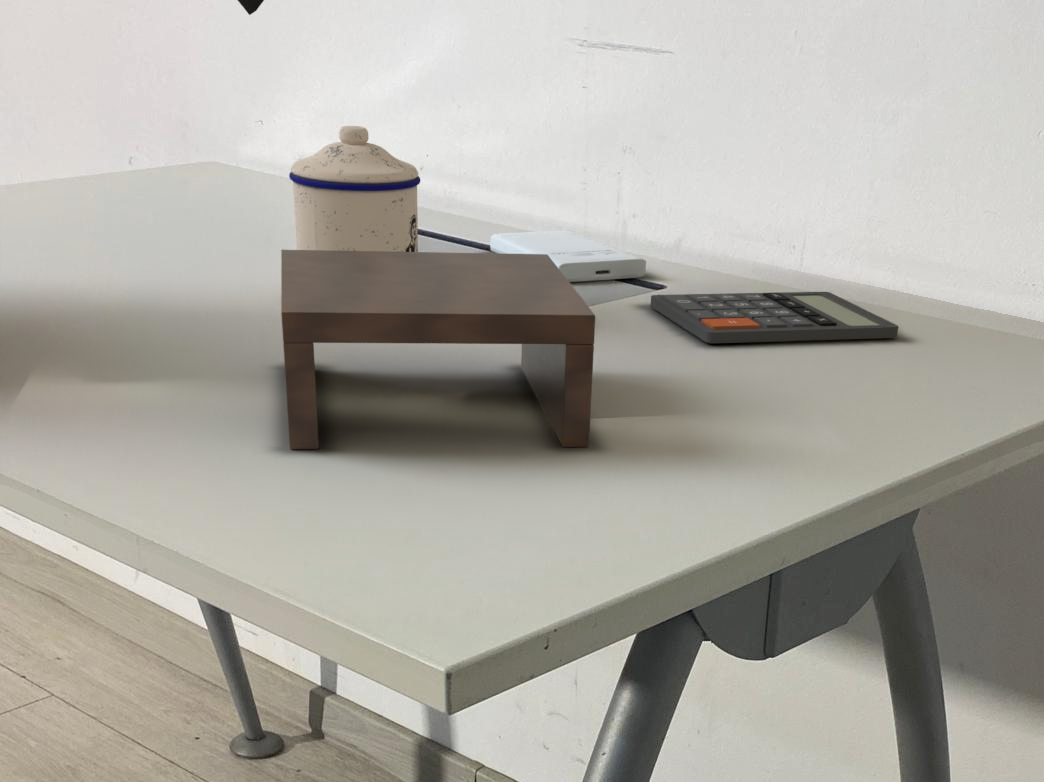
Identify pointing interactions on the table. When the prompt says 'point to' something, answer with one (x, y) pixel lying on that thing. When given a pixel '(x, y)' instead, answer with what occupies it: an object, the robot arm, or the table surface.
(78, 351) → the table surface
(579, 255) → the hard drive
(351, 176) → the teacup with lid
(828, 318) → the calculator
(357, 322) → the shelf
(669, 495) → the table surface
